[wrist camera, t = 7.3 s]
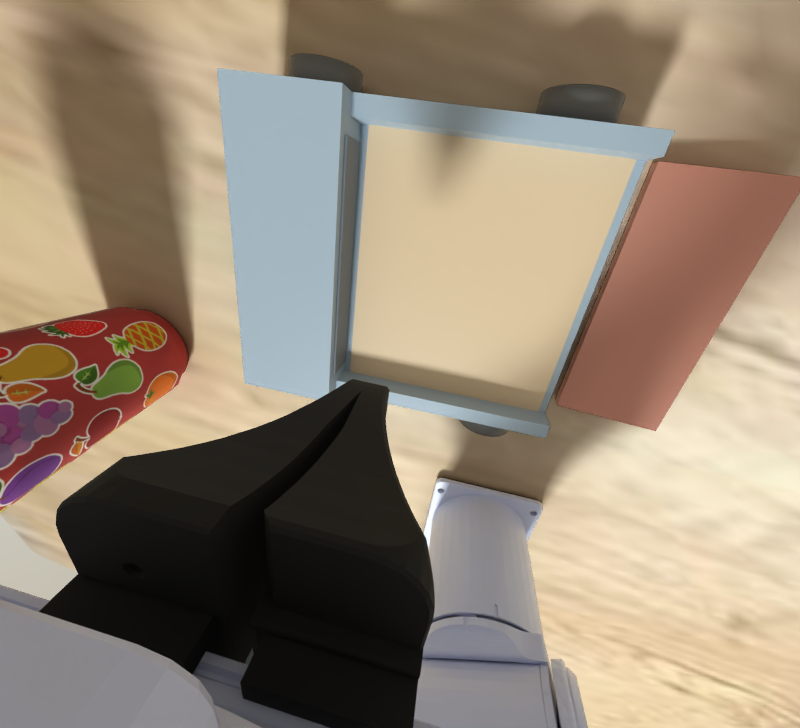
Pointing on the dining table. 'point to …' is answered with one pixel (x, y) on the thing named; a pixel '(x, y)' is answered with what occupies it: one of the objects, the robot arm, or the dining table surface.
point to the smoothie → (77, 387)
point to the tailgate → (671, 286)
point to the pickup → (420, 237)
